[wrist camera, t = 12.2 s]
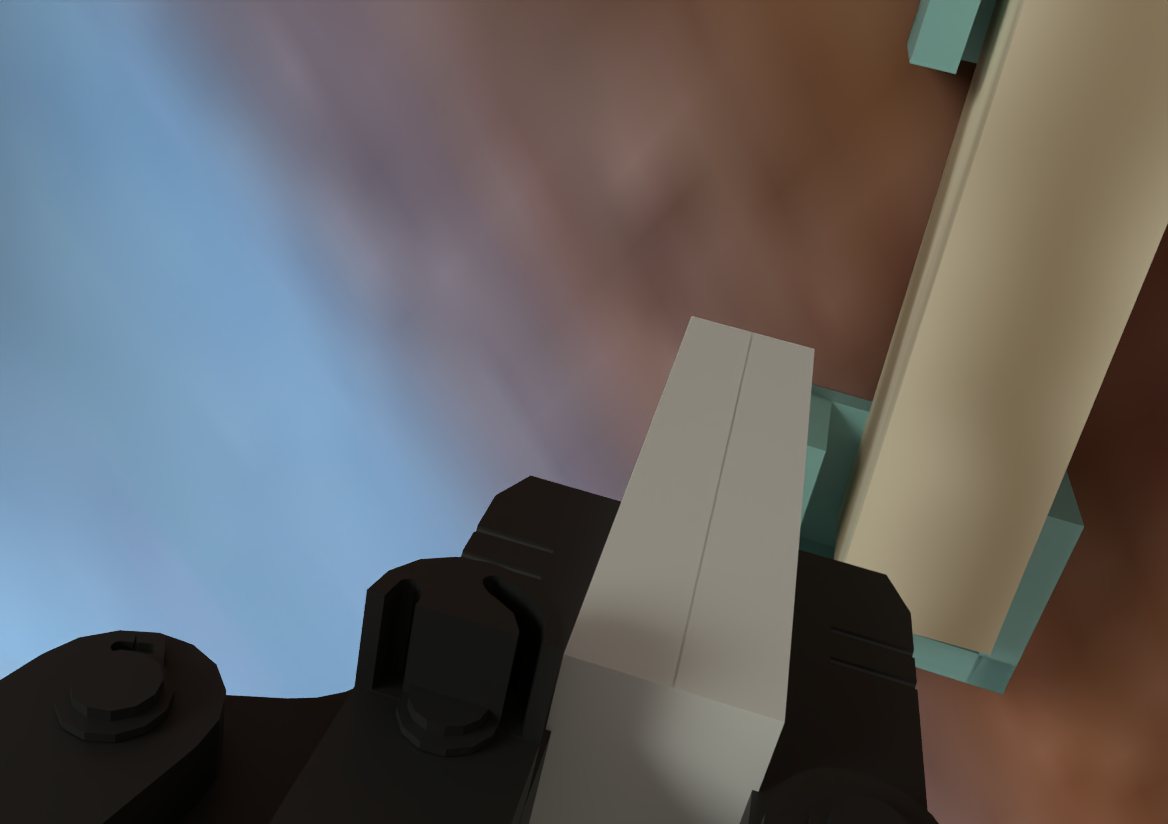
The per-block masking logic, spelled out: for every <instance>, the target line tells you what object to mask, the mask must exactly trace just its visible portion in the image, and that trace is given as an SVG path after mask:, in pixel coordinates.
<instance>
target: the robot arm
mask: <svg viewBox="0 0 1168 824" xmlns="http://www.w3.org/2000/svg"><path fill="white" fill-rule="evenodd" d="M814 350H815V349H813V348H809V347H805V346H802V345H798V344H794V343H790V342H787V341H783V340H779V339H775V338H772V337H768V336H764V335H761V334H757V333H753V332H749V331H746V330H742V329H738V328H735V327H731V326H727V325H723V324H720V323H716V322H712V321H708V320H705V319H701V318H697V317H694V316H691V319H690V321H689V324H688V327H687V329H686V332H685V335H684V337H683V340H682V343H681V345H680V348H679V351H678V353H677V356H676V358H675V361H674V364H673V366H672V369H671V372H670V374H669V377H668V380H667V382H666V385H665V388H664V390H663V393H662V396H661V398H660V401H659V403H658V406H657V409H656V411H655V414H654V417H653V419H652V422H651V425H650V427H649V430H648V433H647V435H646V438H645V440H644V443H643V446H642V448H641V451H640V454H639V456H638V459H637V462H636V464H635V467H634V470H633V472H632V475H631V477H630V480H629V483H628V485H627V488H626V491H625V493H624V496H623V499H622V501H621V502H620V501H617V500H613V499H610V498H606V497H603V496H599V495H596V494H592V493H589V492H585V491H582V490H579V489H575V488H572V487H568V486H565V485H561V484H558V483H554V482H551V481H547V480H544V479H541V478H537V477H534V476H529V477H528V478H526V479H524V480H522V481H520V482H519V483H517V484H515V485H513V486H512V487H510V488H508V489H506V490H504V491H503V492H501V493H499V494H497V495H496V496H495V497H494V499H493V501H492V502H491V504H490V506H489V507H488V509H487V511H486V512H485V514H484V516H483V517H482V519H481V521H480V523H479V524H478V527H477V530H476V532H474V533H473V534H472V536H471V538H470V539H469V541H468V543H467V545H466V546H465V548H464V550H463V553H462V556H461V557H447V558H432V559H420V560H417V561H414V562H411V563H409V564H406V565H403V566H400V567H397V568H395V569H392V570H389V571H388V572H387V573H386V574H385V575H383V576H382V577H381V578H380V579H379V580H378V581H377V582H375V583H374V584H373V585H372V586H371V587H370V588H369V589H367V595H366V603H365V611H364V618H363V626H362V634H361V642H360V650H359V657H358V665H357V673H356V681H355V686H354V688H353V689H351V690H349V691H347V692H343V693H338V694H333V695H328V696H323V697H318V698H289V699H286V698H268V697H250V696H232V695H226V689H225V686H224V684H223V681H222V678H221V676H220V673H219V670H218V668H217V665H216V664H215V663H214V662H213V661H212V660H210V659H209V658H208V657H207V656H206V655H205V654H203V653H202V652H201V651H200V650H199V649H197V648H196V647H195V646H194V645H192V644H190V643H187V642H184V641H181V640H178V639H175V638H173V637H170V636H167V635H164V634H161V633H153V632H137V631H121V630H119V631H114V632H108V633H103V634H97V635H91V636H86V637H80V638H77V639H75V640H73V641H70V642H68V643H66V644H64V645H61V646H59V647H57V648H55V649H52V650H50V651H48V652H46V653H44V654H41V655H40V656H38V657H37V658H35V659H33V660H32V661H30V662H29V663H27V664H25V665H24V666H22V667H21V668H19V669H17V670H16V671H14V672H12V673H11V674H9V675H8V676H6V677H4V678H3V679H1V680H0V824H938V822H937V821H936V820H935V818H934V817H933V816H932V814H930V813H929V812H928V811H927V800H926V788H925V776H924V764H923V752H922V740H921V728H920V716H919V704H918V692H917V690H916V689H915V686H916V682H917V680H916V668H915V658H913V657H912V656H913V652H914V644H913V632H912V620H911V612H910V611H909V609H908V608H907V606H906V604H905V603H904V601H903V600H902V598H901V597H900V595H899V593H898V592H897V590H896V589H895V587H894V586H893V584H892V583H891V581H890V579H889V578H888V576H887V575H886V574H882V573H879V572H875V571H872V570H868V569H865V568H862V567H858V566H855V565H851V564H848V563H844V562H841V561H837V560H834V559H830V558H827V557H823V556H820V555H817V554H813V553H810V552H806V551H803V550H799V537H800V525H801V512H802V500H803V487H804V475H805V462H806V450H807V437H808V425H809V412H810V400H811V387H812V375H813V362H814Z"/></svg>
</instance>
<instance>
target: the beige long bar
mask: <svg viewBox="0 0 1168 824" xmlns="http://www.w3.org/2000/svg"><path fill="white" fill-rule="evenodd" d="M1167 224H1168V0H996V3H995V7H994V10H993V13H992V16H991V20H990V23H989V26H988V29H987V32H986V36H985V39H984V42H983V45H982V49H981V52H980V55H979V58H978V62H977V65H976V68H975V71H974V75H973V78H972V81H971V84H970V88H969V91H968V94H967V97H966V100H965V104H964V107H963V110H962V113H961V117H960V120H959V123H958V126H957V130H956V133H955V136H954V139H953V143H952V146H951V149H950V152H949V155H948V159H947V162H946V165H945V168H944V172H943V175H942V178H941V181H940V185H939V188H938V191H937V194H936V198H935V201H934V204H933V207H932V211H931V214H930V217H929V220H928V223H927V227H926V230H925V233H924V236H923V240H922V243H921V246H920V249H919V253H918V256H917V259H916V262H915V266H914V269H913V272H912V275H911V279H910V282H909V285H908V288H907V291H906V295H905V298H904V301H903V304H902V308H901V311H900V314H899V317H898V321H897V324H896V327H895V330H894V334H893V337H892V340H891V343H890V346H889V350H888V353H887V356H886V359H885V363H884V366H883V369H882V372H881V376H880V379H879V382H878V385H877V389H876V392H875V395H874V398H873V402H872V405H871V408H870V411H869V414H868V418H867V421H866V424H865V427H864V431H863V434H862V437H861V440H860V444H859V447H858V450H857V453H856V457H855V460H854V463H853V466H852V469H851V473H850V476H849V479H848V482H847V486H846V489H845V492H844V495H843V499H842V502H841V505H840V508H839V512H838V516H837V528H836V540H835V552H834V560H837V561H841V562H844V563H848V564H851V565H855V566H858V567H862V568H865V569H868V570H872V571H875V572H879V573H882V574H886V575H887V576H888V578H889V579H890V581H891V583H892V584H893V586H894V587H895V589H896V590H897V592H898V593H899V595H900V597H901V598H902V600H903V601H904V603H905V604H906V606H907V608H908V609H909V611H910V612H911V620H912V632H913V634H916V635H920V636H923V637H927V638H930V639H934V640H938V641H941V642H945V643H948V644H952V645H956V646H959V647H963V648H967V649H970V650H974V651H977V652H981V653H985V654H988V655H990V654H991V651H992V649H993V646H994V644H995V642H996V639H997V637H998V634H999V632H1000V629H1001V627H1002V625H1003V622H1004V620H1005V617H1006V615H1007V612H1008V610H1009V608H1010V605H1011V603H1012V600H1013V598H1014V595H1015V593H1016V591H1017V588H1018V586H1019V583H1020V581H1021V578H1022V576H1023V574H1024V571H1025V569H1026V566H1027V564H1028V561H1029V559H1030V557H1031V554H1032V552H1033V549H1034V547H1035V544H1036V542H1037V540H1038V537H1039V535H1040V532H1041V530H1042V527H1043V525H1044V523H1045V520H1046V518H1047V515H1048V513H1049V510H1050V508H1051V506H1052V503H1053V501H1054V498H1055V496H1056V493H1057V491H1058V489H1059V486H1060V484H1061V481H1062V479H1063V476H1064V474H1065V472H1066V469H1067V467H1068V464H1069V462H1070V459H1071V457H1072V455H1073V452H1074V450H1075V447H1076V445H1077V442H1078V440H1079V438H1080V435H1081V433H1082V430H1083V428H1084V425H1085V423H1086V421H1087V418H1088V416H1089V413H1090V411H1091V408H1092V406H1093V404H1094V401H1095V399H1096V396H1097V394H1098V391H1099V389H1100V386H1101V384H1102V382H1103V379H1104V377H1105V374H1106V372H1107V369H1108V367H1109V365H1110V362H1111V360H1112V357H1113V355H1114V352H1115V350H1116V348H1117V345H1118V343H1119V340H1120V338H1121V335H1122V333H1123V331H1124V328H1125V326H1126V323H1127V321H1128V318H1129V316H1130V314H1131V311H1132V309H1133V306H1134V304H1135V301H1136V299H1137V297H1138V294H1139V292H1140V289H1141V287H1142V284H1143V282H1144V280H1145V277H1146V275H1147V272H1148V270H1149V267H1150V265H1151V263H1152V260H1153V258H1154V255H1155V253H1156V250H1157V248H1158V246H1159V243H1160V241H1161V238H1162V236H1163V233H1164V231H1165V229H1166V226H1167Z"/></svg>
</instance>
